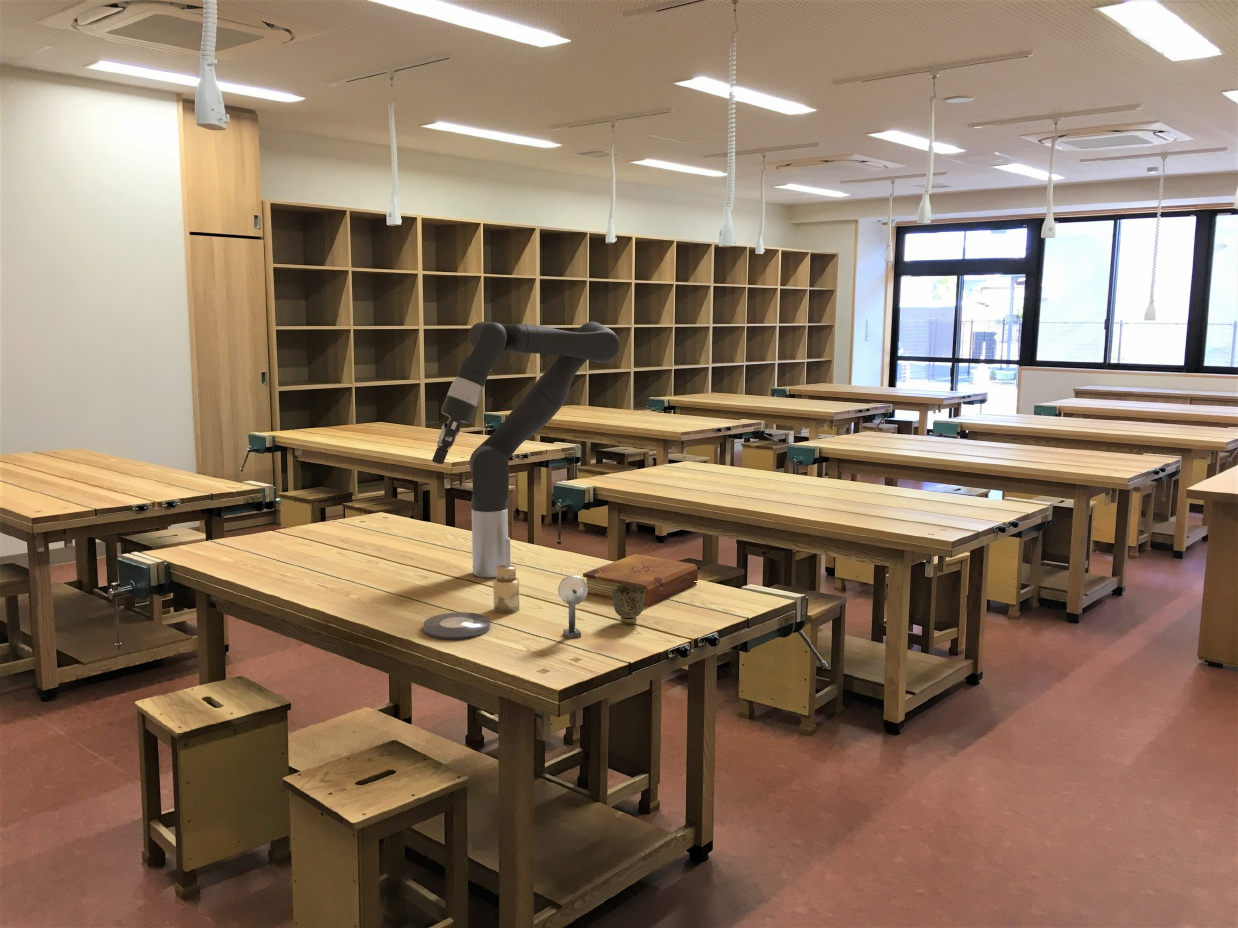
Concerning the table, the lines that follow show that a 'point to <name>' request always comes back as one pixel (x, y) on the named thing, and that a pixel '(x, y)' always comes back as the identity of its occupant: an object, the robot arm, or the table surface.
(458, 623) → the turntable
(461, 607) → the table surface
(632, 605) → the cup
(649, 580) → the diary
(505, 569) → the weight
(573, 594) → the dial gauge
